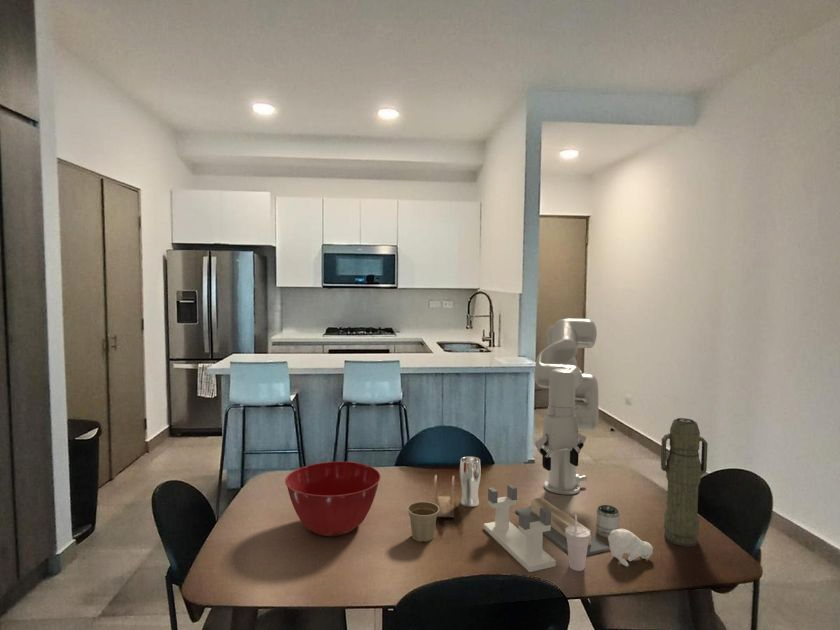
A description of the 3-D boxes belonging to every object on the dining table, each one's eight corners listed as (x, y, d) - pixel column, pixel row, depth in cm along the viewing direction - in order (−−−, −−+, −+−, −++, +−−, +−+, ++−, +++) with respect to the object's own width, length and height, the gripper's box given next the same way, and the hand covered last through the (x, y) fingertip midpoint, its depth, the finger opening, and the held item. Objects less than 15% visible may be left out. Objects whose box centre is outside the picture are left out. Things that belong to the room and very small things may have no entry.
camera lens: (595, 536, 150) (596, 510, 150) (596, 527, 156) (597, 501, 155) (618, 540, 148) (619, 514, 147) (618, 530, 154) (619, 505, 153)
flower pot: (443, 532, 152) (443, 504, 152) (433, 547, 143) (433, 517, 143) (413, 527, 155) (413, 499, 155) (402, 542, 146) (402, 512, 146)
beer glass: (480, 499, 175) (480, 456, 175) (480, 508, 169) (481, 463, 168) (459, 498, 176) (460, 455, 175) (459, 507, 169) (459, 462, 168)
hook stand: (506, 524, 157) (507, 481, 157) (555, 566, 134) (556, 516, 133) (483, 528, 155) (484, 484, 154) (529, 572, 131) (530, 521, 130)
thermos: (709, 547, 144) (714, 424, 142) (666, 545, 145) (670, 424, 143) (695, 532, 153) (699, 416, 151) (654, 530, 154) (658, 415, 151)
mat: (546, 506, 170) (546, 503, 170) (609, 550, 142) (610, 547, 142) (515, 511, 166) (515, 509, 166) (574, 558, 138) (574, 555, 138)
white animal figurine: (606, 524, 139) (646, 525, 141) (603, 555, 139) (643, 555, 141) (619, 535, 133) (661, 536, 135) (616, 567, 133) (657, 567, 135)
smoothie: (560, 561, 137) (561, 509, 136) (583, 559, 137) (585, 509, 136) (569, 574, 130) (570, 521, 129) (593, 573, 131) (595, 520, 130)
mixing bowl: (333, 498, 176) (333, 454, 175) (399, 521, 159) (399, 472, 158) (266, 530, 153) (265, 480, 152) (334, 560, 136) (334, 504, 135)
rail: (541, 509, 166) (542, 497, 166) (590, 544, 144) (591, 531, 143) (531, 511, 165) (531, 499, 164) (579, 547, 142) (579, 533, 142)
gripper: (577, 405, 158) (576, 459, 160) (529, 410, 152) (528, 466, 154) (593, 411, 151) (592, 467, 153) (544, 416, 145) (543, 475, 147)
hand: (560, 466), depth 153 cm, fingers open, 9 cm apart
